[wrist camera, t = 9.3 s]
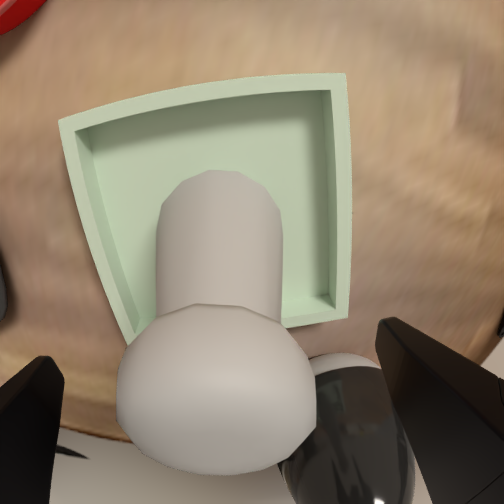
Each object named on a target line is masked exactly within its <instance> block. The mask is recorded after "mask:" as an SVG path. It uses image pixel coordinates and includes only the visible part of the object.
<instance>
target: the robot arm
mask: <svg viewBox="0 0 504 504" xmlns="http://www.w3.org/2000/svg"><path fill="white" fill-rule="evenodd" d="M497 335H498V336H499V338H501V337H503V336H504V318H503V320H502V323H501V325H500V328H499V330H498V333H497ZM375 348H376V353H377V356H378V359H379V362H380V365H381V368H382V371H383V375H384V378H385V381H386V384H387V388H388V391H389V394H390V397H391V400H392V402H393V405H394V407H395V410H396V412H397V414H398V417H399V419H400V421H401V424H402V426H403V428H404V431H405V433H406V436H407V438H408V441H409V443H410V445H411V448H412V450H413V453H414V455H415V458H416V460H417V463H418V466H419V468H420V471H421V474H422V476H423V479H424V481H425V484H426V486H427V489H428V492H429V495H430V498H431V500H432V503H433V504H504V380H503V379H501V378H498V377H497V376H496V375H495V374H493V373H491V372H489V371H488V370H486V369H484V368H483V367H481V366H479V365H478V364H476V363H474V362H472V361H471V360H469V359H467V358H466V357H464V356H462V355H460V354H459V353H457V352H455V351H454V350H452V349H450V348H448V347H447V346H445V345H443V344H442V343H440V342H438V341H436V340H435V339H433V338H431V337H429V336H428V335H426V334H424V333H423V332H421V331H419V330H417V329H416V328H414V327H412V326H410V325H409V324H407V323H405V322H403V321H402V320H400V319H398V318H396V317H389V318H385V319H381V320H380V321H379V324H378V329H377V335H376V341H375ZM64 383H65V382H64V377H63V374H62V373H61V371H60V370H59V368H58V366H57V365H56V363H55V362H54V360H53V359H52V358H51V357H50V356H38V357H36V358H35V359H34V360H33V361H31V362H30V363H29V364H28V365H26V366H25V367H24V368H23V369H22V370H20V371H19V372H18V373H17V374H16V375H14V376H13V377H12V378H11V379H10V380H8V381H7V382H6V383H5V384H4V385H2V386H1V387H0V504H49V499H50V489H51V480H52V472H53V465H54V458H55V451H56V445H57V439H58V433H59V427H60V419H61V408H62V400H63V391H64Z"/></svg>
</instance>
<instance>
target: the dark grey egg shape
mask: <svg viewBox="0 0 504 504" xmlns="http://www.w3.org/2000/svg"><path fill="white" fill-rule="evenodd" d="M309 363H310V365H311V368H312V370H313V373H314V376H315V388H316V427H315V428H314V430H313V431H312V432H311V433H310V434H309V435H308V437H307V438H306V439H305V440H304V441H303V442H302V443H301V444H300V445H299V447H298V448H297V449H296V450H295V451H294V452H293V453H292V454H291V455H290V456H289V457H288V458H286V459H284V460H282V461H280V462H278V463H277V465H278V468H279V470H280V472H281V475H282V477H283V479H284V482H285V484H286V486H287V488H288V490H289V492H290V493H291V495H292V497H293V499H294V501H295V502H296V504H412V502H413V497H414V489H415V488H414V487H415V458H414V453H413V450H412V448H411V445H410V443H409V441H408V438H407V436H406V433H405V431H404V428H403V426H402V424H401V421H400V419H399V417H398V414H397V412H396V410H395V407H394V405H393V402H392V400H391V397H390V394H389V391H388V388H387V384H386V381H385V378H384V375H383V371H382V369H381V368H380V367H379V366H378V365H376V364H375V363H374V362H372V361H371V360H369V359H367V358H365V357H362V356H359V355H356V354H351V353H331V354H325V355H321V356H318V357H315V358H312V359H310V360H309Z"/></svg>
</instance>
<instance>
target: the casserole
mask: <svg viewBox="0 0 504 504" xmlns="http://www.w3.org/2000/svg"><path fill="white" fill-rule="evenodd" d="M7 307H8V302H7V292H6V286H5V282H4V278H3V274H2V270H1V265H0V321H1V320H2V319H4V318H5V315H6V311H7Z"/></svg>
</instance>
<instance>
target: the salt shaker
mask: <svg viewBox="0 0 504 504" xmlns="http://www.w3.org/2000/svg"><path fill="white" fill-rule="evenodd" d="M282 275H283V230H282V221H281V213H280V209H279V208H278V206H277V205H276V203H275V202H274V200H273V199H272V197H271V196H270V194H269V192H268V191H267V189H266V188H265V187H264V186H263V185H261V184H259V183H257V182H256V181H254V180H252V179H250V178H249V177H247V176H245V175H243V174H241V173H240V172H237V171H222V170H208V171H205V172H203V173H200V174H198V175H195V176H193V177H190V178H188V179H186V180H183V181H182V182H180V184H179V185H178V186H177V187H176V188H175V189H174V190H173V192H172V193H171V194H170V195H169V196H168V197H167V199H166V200H165V201H164V202H163V203H162V205H161V210H160V214H159V219H158V224H157V229H156V318H155V319H154V320H153V321H152V322H151V323H150V324H149V325H148V326H147V327H146V328H145V329H144V330H143V331H142V332H141V333H140V334H139V335H138V336H137V337H136V338H135V339H134V340H133V341H132V342H131V343H130V344H129V345H128V347H127V348H126V350H125V352H124V355H123V357H122V360H121V362H120V365H119V368H118V376H117V392H116V421H117V422H118V423H119V425H120V426H121V428H122V429H123V430H124V432H125V433H126V434H127V435H128V437H129V438H130V439H131V441H132V442H133V443H134V444H135V445H136V447H137V448H138V449H139V450H140V451H141V452H142V453H143V454H144V455H146V456H148V457H150V458H151V459H153V460H155V461H157V462H159V463H161V464H163V465H165V466H167V467H170V468H173V469H177V470H181V471H186V472H190V473H194V474H198V475H237V474H243V473H249V472H253V471H259V470H263V469H265V468H268V467H270V466H272V465H274V464H276V463H278V462H280V461H282V460H284V459H286V458H288V457H289V456H290V455H291V454H292V453H293V452H294V451H295V450H296V449H297V448H298V447H299V445H300V444H301V443H302V442H303V441H304V440H305V439H306V438H307V437H308V435H309V434H310V433H311V432H312V431H313V430H314V428H315V427H316V388H315V376H314V373H313V370H312V368H311V365H310V363H309V360H308V357H307V355H306V354H305V353H304V351H303V350H302V349H301V348H300V346H299V345H298V344H297V342H296V341H295V340H294V339H293V337H292V336H291V335H290V334H289V332H288V331H287V330H286V329H285V327H284V326H283V325H282V324H281V309H282Z"/></svg>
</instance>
